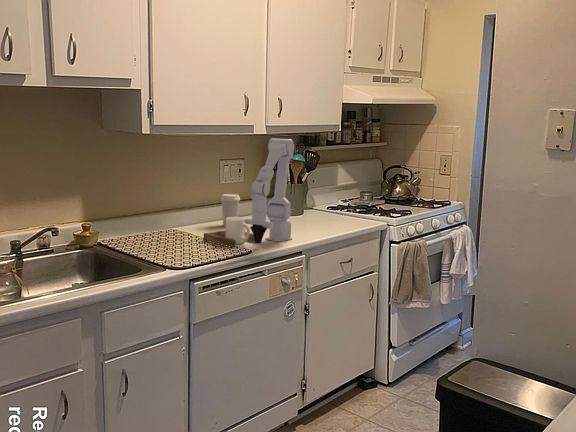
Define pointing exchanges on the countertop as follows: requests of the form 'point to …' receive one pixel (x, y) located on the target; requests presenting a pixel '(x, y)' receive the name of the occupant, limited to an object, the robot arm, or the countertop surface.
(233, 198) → the coffee cup
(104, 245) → the countertop surface
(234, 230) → the mug
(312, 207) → the countertop surface
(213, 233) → the box
